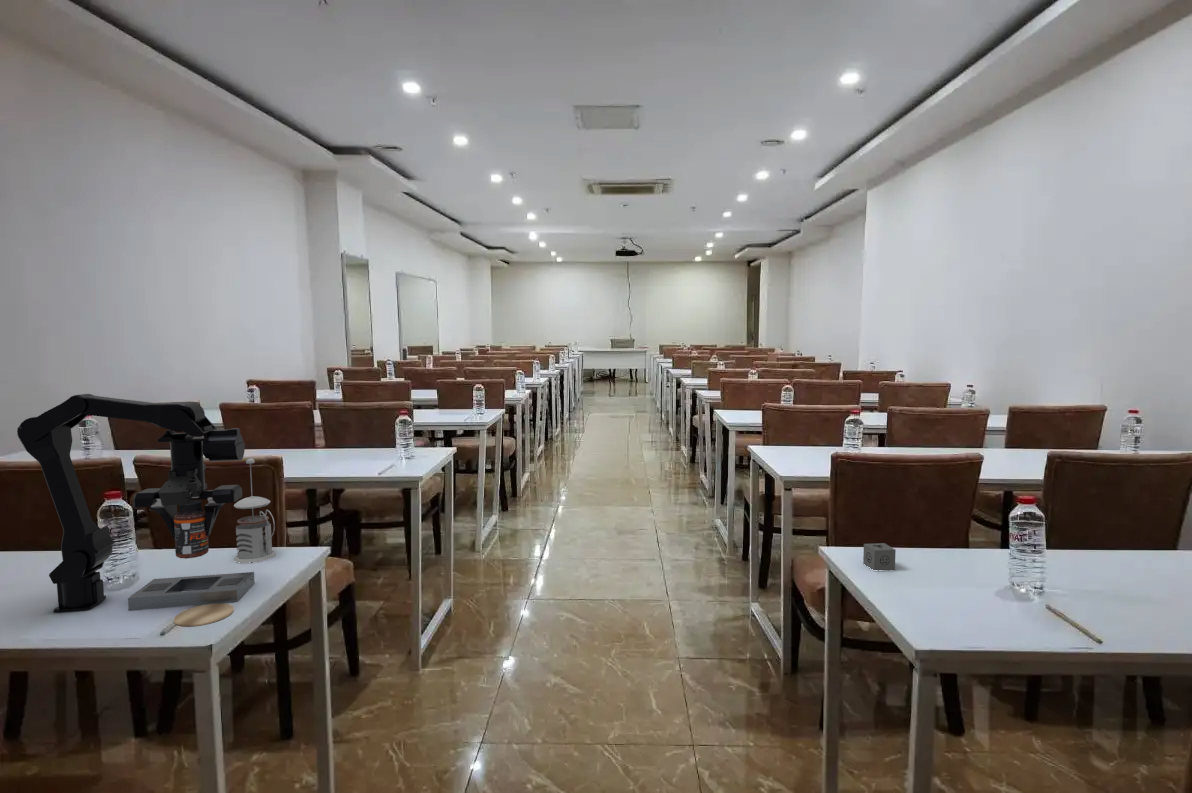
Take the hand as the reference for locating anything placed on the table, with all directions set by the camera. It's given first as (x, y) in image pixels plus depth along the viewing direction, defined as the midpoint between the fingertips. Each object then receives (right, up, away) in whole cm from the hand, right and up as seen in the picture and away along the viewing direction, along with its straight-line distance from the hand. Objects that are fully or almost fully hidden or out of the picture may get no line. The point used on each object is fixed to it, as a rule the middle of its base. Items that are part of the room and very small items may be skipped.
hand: (191, 536), depth 135 cm
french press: (0, -11, +26) cm, 28 cm away
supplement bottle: (0, -4, 0) cm, 4 cm away
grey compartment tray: (0, -13, +1) cm, 13 cm away
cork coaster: (+8, -14, -9) cm, 18 cm away
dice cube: (+151, -11, +15) cm, 152 cm away
